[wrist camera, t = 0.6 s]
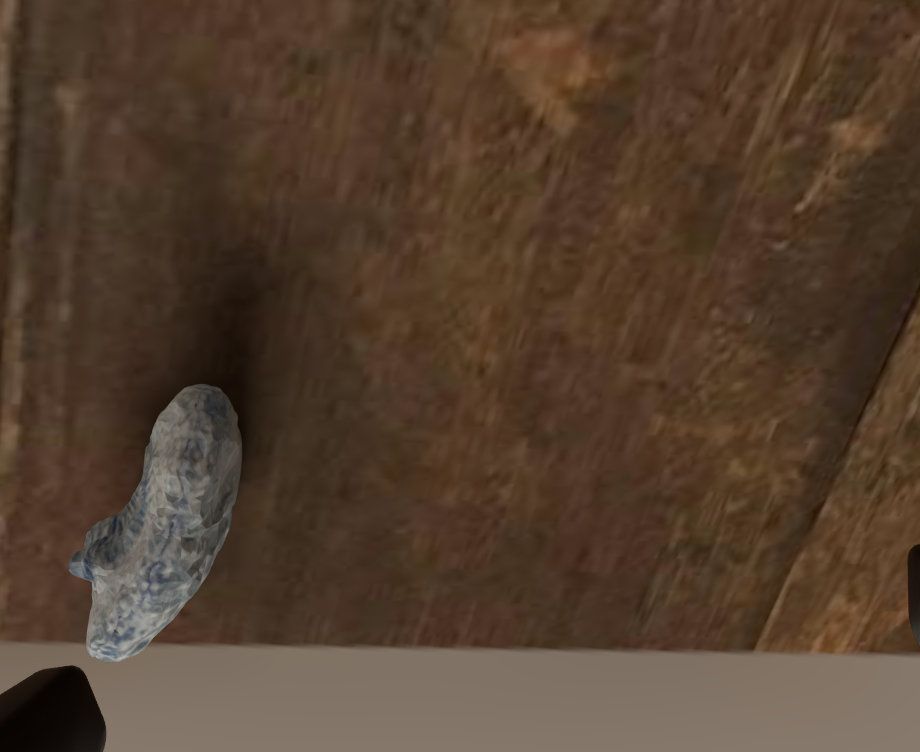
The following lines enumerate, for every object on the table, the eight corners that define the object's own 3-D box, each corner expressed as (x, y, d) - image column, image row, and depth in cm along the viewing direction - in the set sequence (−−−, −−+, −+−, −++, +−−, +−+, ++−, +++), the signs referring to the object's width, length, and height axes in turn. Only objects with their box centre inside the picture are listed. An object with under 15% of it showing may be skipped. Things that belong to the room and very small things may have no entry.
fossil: (191, 338, 22) (107, 398, 17) (302, 392, 22) (250, 465, 17) (98, 563, 24) (1, 671, 19) (200, 609, 25) (129, 725, 20)
